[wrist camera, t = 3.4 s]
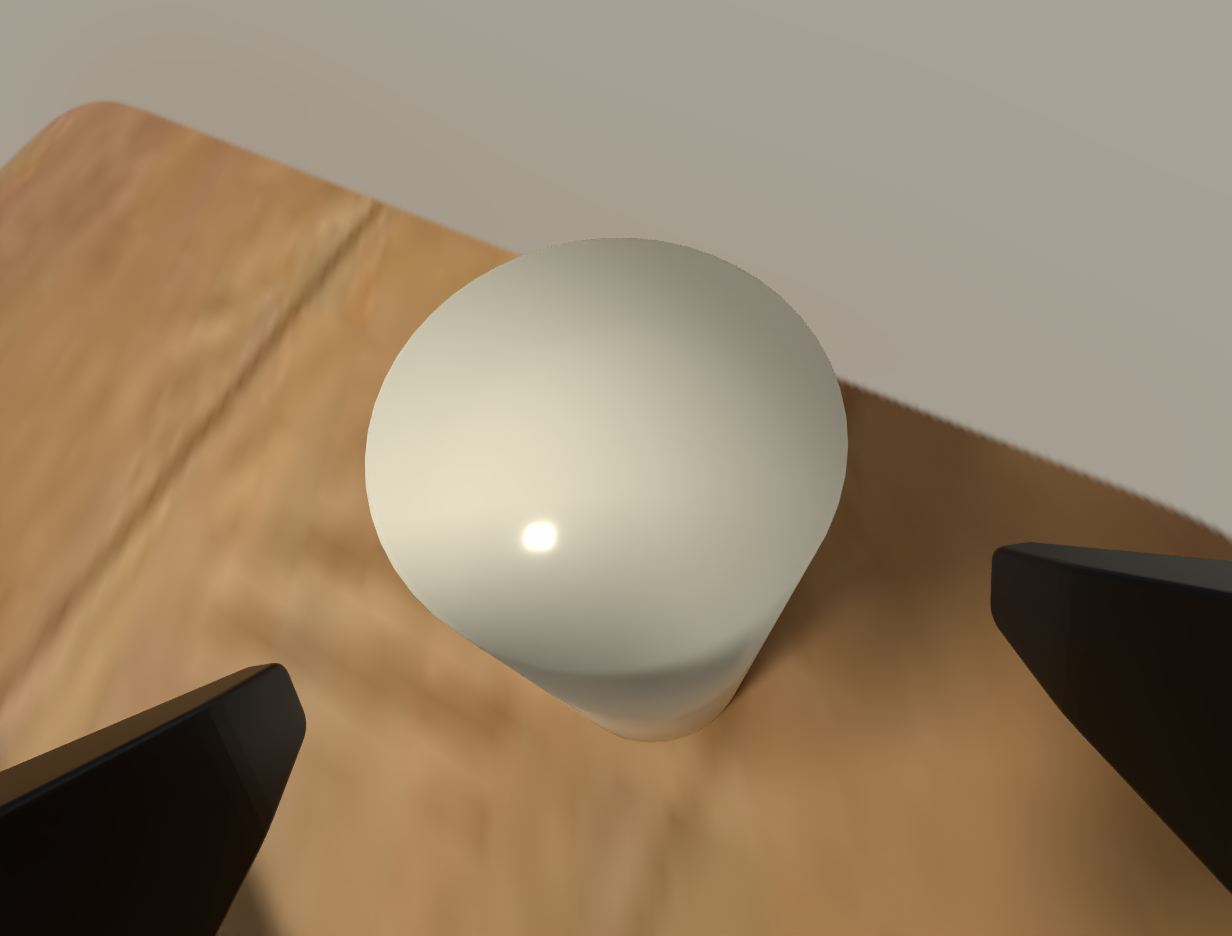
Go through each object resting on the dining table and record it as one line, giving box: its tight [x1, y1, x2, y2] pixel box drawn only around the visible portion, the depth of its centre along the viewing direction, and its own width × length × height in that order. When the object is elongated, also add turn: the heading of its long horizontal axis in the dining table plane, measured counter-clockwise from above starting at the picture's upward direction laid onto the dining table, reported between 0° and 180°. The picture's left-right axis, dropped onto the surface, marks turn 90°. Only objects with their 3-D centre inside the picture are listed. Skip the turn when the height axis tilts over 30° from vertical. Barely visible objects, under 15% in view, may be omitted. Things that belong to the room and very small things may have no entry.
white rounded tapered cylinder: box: [365, 238, 848, 743], centre depth 13 cm, size 5×5×12 cm
